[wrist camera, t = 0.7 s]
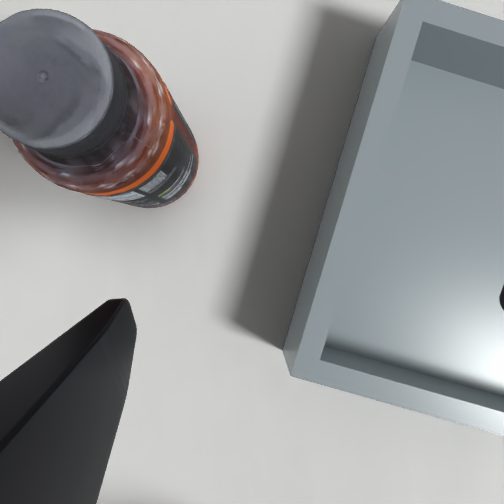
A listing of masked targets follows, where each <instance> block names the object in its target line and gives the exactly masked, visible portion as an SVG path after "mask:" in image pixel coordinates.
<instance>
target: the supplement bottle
mask: <svg viewBox="0 0 504 504" xmlns="http://www.w3.org/2000/svg"><path fill="white" fill-rule="evenodd" d="M0 130H1V131H2V132H3V133H4V134H6V135H7V136H9V137H10V138H12V139H13V142H14V144H15V145H16V147H17V148H18V150H19V152H20V153H21V155H22V156H23V158H24V159H25V160H26V161H27V162H28V163H29V164H30V165H31V166H32V167H33V168H34V169H35V170H36V171H37V172H38V173H40V174H41V175H42V176H43V177H45V178H46V179H48V180H50V181H51V182H53V183H55V184H57V185H59V186H61V187H64V188H67V189H69V190H73V191H77V192H81V193H85V194H88V195H93V196H97V197H101V198H105V199H109V200H113V201H117V202H120V203H125V204H128V205H133V206H137V207H143V208H155V207H161V206H165V205H168V204H170V203H172V202H174V201H175V200H177V199H179V198H180V197H181V196H182V195H183V194H184V193H185V192H186V191H187V190H188V189H189V187H190V186H191V185H192V182H193V181H194V179H195V176H196V173H197V169H198V149H197V144H196V141H195V138H194V136H193V134H192V132H191V130H190V128H189V126H188V124H187V123H186V121H185V119H184V118H183V116H182V114H181V112H180V110H179V109H178V107H177V105H176V103H175V101H174V100H173V98H172V96H171V94H170V92H169V91H168V89H167V87H166V85H165V83H164V82H163V81H162V79H161V77H160V75H159V74H158V72H157V71H156V69H155V68H154V66H153V65H152V64H151V63H150V62H149V61H148V59H147V58H146V57H145V56H144V55H143V54H142V53H141V52H140V51H139V50H137V49H136V48H135V47H134V46H132V45H131V44H129V43H128V42H127V41H125V40H123V39H121V38H119V37H117V36H115V35H112V34H110V33H106V32H103V31H99V30H94V29H91V28H90V27H88V26H87V25H86V24H85V23H83V22H82V21H80V20H79V19H77V18H75V17H73V16H71V15H69V14H67V13H63V12H60V11H57V10H52V9H31V10H26V11H21V12H18V13H16V14H14V15H12V16H10V17H8V18H6V19H5V20H3V21H2V22H0Z"/></svg>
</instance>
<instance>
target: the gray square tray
mask: <svg viewBox="0 0 504 504" xmlns="http://www.w3.org/2000/svg"><path fill="white" fill-rule="evenodd" d="M503 285H504V21H503V20H500V19H496V18H493V17H490V16H487V15H484V14H481V13H478V12H474V11H471V10H468V9H465V8H462V7H459V6H456V5H452V4H449V3H446V2H443V1H440V0H400V1H399V3H398V5H397V6H396V8H395V9H394V11H393V12H392V14H391V15H390V17H389V18H388V20H387V21H386V23H385V24H384V26H383V28H382V29H381V31H380V32H379V34H378V35H377V37H376V40H375V43H374V47H373V50H372V53H371V57H370V60H369V63H368V67H367V70H366V74H365V77H364V80H363V84H362V87H361V90H360V94H359V97H358V100H357V104H356V107H355V110H354V114H353V117H352V120H351V124H350V127H349V130H348V134H347V137H346V140H345V144H344V147H343V150H342V154H341V157H340V160H339V164H338V167H337V170H336V174H335V177H334V180H333V184H332V187H331V190H330V194H329V197H328V200H327V204H326V207H325V210H324V214H323V217H322V220H321V224H320V227H319V230H318V234H317V237H316V240H315V244H314V247H313V250H312V254H311V257H310V260H309V264H308V267H307V270H306V274H305V277H304V280H303V284H302V287H301V290H300V294H299V297H298V300H297V304H296V307H295V310H294V314H293V317H292V320H291V324H290V327H289V331H288V334H287V337H286V341H285V344H284V347H283V354H284V357H285V360H286V363H287V366H288V369H289V372H290V375H291V376H293V377H296V378H300V379H303V380H307V381H310V382H314V383H317V384H321V385H324V386H328V387H331V388H335V389H339V390H342V391H346V392H349V393H353V394H356V395H360V396H363V397H367V398H370V399H374V400H378V401H381V402H385V403H388V404H392V405H395V406H399V407H402V408H406V409H409V410H413V411H416V412H420V413H424V414H427V415H431V416H434V417H438V418H441V419H445V420H448V421H452V422H455V423H459V424H462V425H466V426H470V427H473V428H477V429H480V430H484V431H487V432H491V433H494V434H498V435H501V436H504V311H503V309H502V307H501V305H500V302H499V296H500V293H501V290H502V288H503Z"/></svg>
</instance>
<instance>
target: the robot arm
mask: <svg viewBox="0 0 504 504" xmlns="http://www.w3.org/2000/svg"><path fill="white" fill-rule="evenodd" d="M499 302H500V305H501V307H502V309H503V311H504V285H503V288H502V290H501V293H500V296H499ZM136 335H137V328H136V323H135V320H134V316H133V313H132V310H131V306H130V303H129V301H128V300H127V299H125V298H121V299H110V300H108V301H106V302H105V303H103V304H102V305H101V306H99V307H98V308H97V309H95V310H94V311H93V312H91V313H90V314H89V315H87V316H86V317H85V318H83V319H82V320H81V321H80V322H78V323H77V324H76V325H74V326H73V327H72V328H70V329H69V330H68V331H66V332H65V333H64V334H62V335H61V336H60V337H58V338H57V339H56V340H54V341H53V342H52V343H50V344H49V345H48V346H46V347H45V348H44V349H42V350H41V351H40V352H38V353H37V354H36V355H34V356H33V357H32V358H30V359H29V360H28V361H26V362H25V363H24V364H22V365H21V366H20V367H18V368H17V369H16V370H14V371H13V372H12V373H10V374H9V375H8V376H6V377H5V378H4V379H2V380H1V381H0V504H96V503H97V499H98V496H99V492H100V489H101V485H102V482H103V478H104V475H105V471H106V467H107V464H108V460H109V457H110V453H111V450H112V446H113V443H114V439H115V436H116V432H117V428H118V425H119V421H120V418H121V414H122V411H123V407H124V403H125V400H126V396H127V390H128V385H129V379H130V373H131V366H132V360H133V354H134V348H135V341H136Z"/></svg>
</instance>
